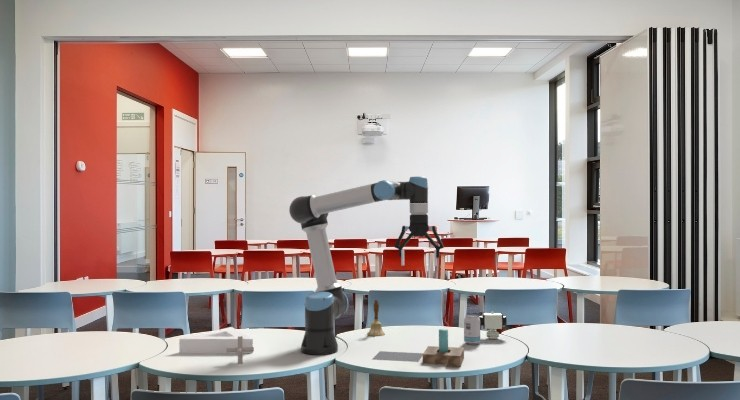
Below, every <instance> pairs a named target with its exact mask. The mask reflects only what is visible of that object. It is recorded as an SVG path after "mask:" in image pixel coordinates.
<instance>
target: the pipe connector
mask: <svg viewBox="0 0 740 400" xmlns="http://www.w3.org/2000/svg"><path fill="white" fill-rule="evenodd" d="M254 348H255V347H254V346H253V347H244V345H243V336H238V347H228V348H227V352H236V353H235V354H236V356H237V364H238V365H240V364H241V365H242V364H243V363H244V362H243V361H244V359H243V358H244V357H243V356H244V355H243V354H244V353H243V352H253V353H254V352H255V349H254Z"/></svg>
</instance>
